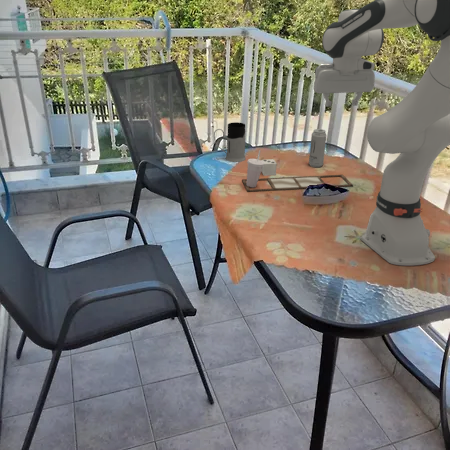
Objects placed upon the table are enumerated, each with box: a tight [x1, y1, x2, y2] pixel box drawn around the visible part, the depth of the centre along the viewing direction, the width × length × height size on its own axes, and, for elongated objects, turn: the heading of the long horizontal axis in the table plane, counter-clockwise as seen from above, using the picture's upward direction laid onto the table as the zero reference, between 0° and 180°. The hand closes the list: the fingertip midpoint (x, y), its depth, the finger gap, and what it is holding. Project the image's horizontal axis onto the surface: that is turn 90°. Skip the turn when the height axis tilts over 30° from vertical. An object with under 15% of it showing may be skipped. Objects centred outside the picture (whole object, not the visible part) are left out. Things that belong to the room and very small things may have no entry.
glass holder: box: [213, 121, 247, 163], centre depth 200 cm, size 9×14×15 cm, turn 105°
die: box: [260, 159, 278, 177], centre depth 188 cm, size 5×5×5 cm
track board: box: [241, 174, 354, 193], centre depth 180 cm, size 11×41×1 cm, turn 98°
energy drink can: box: [308, 128, 327, 168], centre depth 194 cm, size 6×6×15 cm
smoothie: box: [246, 150, 264, 188], centre depth 174 cm, size 6×6×14 cm
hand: (341, 105), depth 159 cm, fingers open, 8 cm apart
